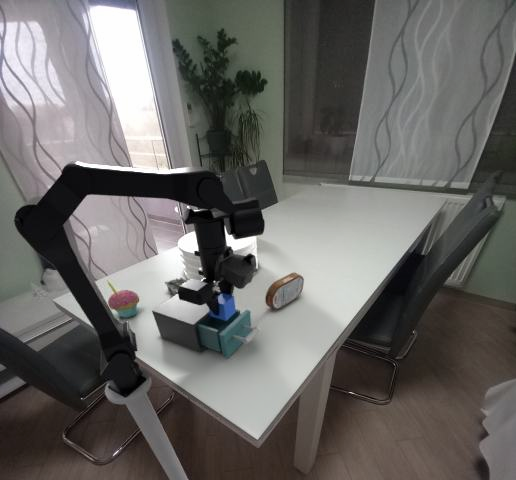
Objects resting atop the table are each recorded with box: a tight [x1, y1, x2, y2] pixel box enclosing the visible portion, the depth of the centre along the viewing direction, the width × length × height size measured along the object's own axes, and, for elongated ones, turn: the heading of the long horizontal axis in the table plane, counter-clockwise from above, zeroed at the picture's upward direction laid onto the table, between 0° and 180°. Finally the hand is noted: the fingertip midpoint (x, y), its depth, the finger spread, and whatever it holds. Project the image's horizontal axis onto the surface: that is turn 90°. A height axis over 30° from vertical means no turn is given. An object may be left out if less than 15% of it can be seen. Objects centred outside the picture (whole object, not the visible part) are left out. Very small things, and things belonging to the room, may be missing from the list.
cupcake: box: [106, 279, 140, 318], centre depth 80 cm, size 9×8×12 cm
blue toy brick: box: [209, 293, 236, 321], centre depth 63 cm, size 4×4×4 cm
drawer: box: [196, 308, 260, 359], centre depth 68 cm, size 17×11×7 cm
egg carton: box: [164, 277, 189, 296], centre depth 91 cm, size 11×8×4 cm
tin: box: [264, 272, 305, 310], centre depth 81 cm, size 15×3×8 cm, turn 134°
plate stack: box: [177, 228, 259, 287], centre depth 102 cm, size 28×28×12 cm
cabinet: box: [151, 294, 210, 353], centre depth 72 cm, size 14×13×9 cm
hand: (222, 310), depth 63 cm, fingers closed on blue toy brick, 4 cm apart
